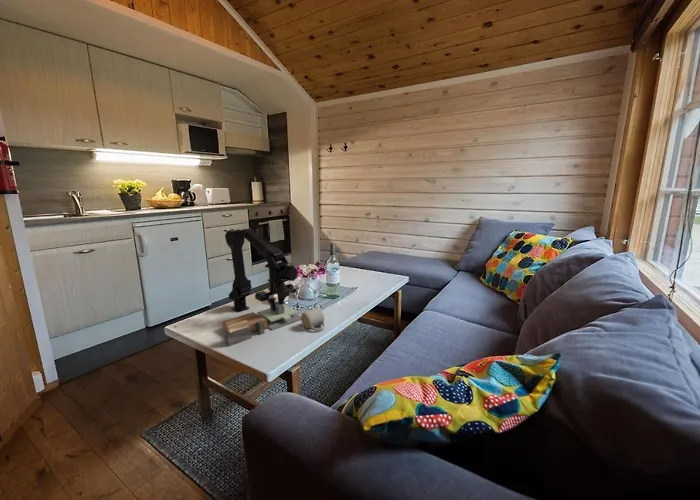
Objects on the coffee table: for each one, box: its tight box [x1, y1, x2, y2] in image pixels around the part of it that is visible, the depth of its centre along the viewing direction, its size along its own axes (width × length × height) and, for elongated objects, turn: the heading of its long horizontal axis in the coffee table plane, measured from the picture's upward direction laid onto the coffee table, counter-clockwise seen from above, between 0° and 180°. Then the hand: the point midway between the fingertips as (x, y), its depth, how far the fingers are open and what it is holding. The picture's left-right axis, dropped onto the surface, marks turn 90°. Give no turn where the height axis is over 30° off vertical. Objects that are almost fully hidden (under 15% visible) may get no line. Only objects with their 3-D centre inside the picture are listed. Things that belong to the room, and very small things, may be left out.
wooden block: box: [227, 320, 249, 333], centre depth 126 cm, size 2×8×2 cm, turn 135°
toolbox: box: [222, 311, 268, 347], centre depth 134 cm, size 15×18×5 cm
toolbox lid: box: [256, 301, 298, 322], centre depth 146 cm, size 15×14×4 cm
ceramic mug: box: [300, 306, 325, 333], centre depth 138 cm, size 11×8×8 cm
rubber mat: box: [259, 313, 301, 331], centre depth 148 cm, size 18×17×1 cm
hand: (277, 309), depth 147 cm, fingers closed on toolbox lid, 3 cm apart
